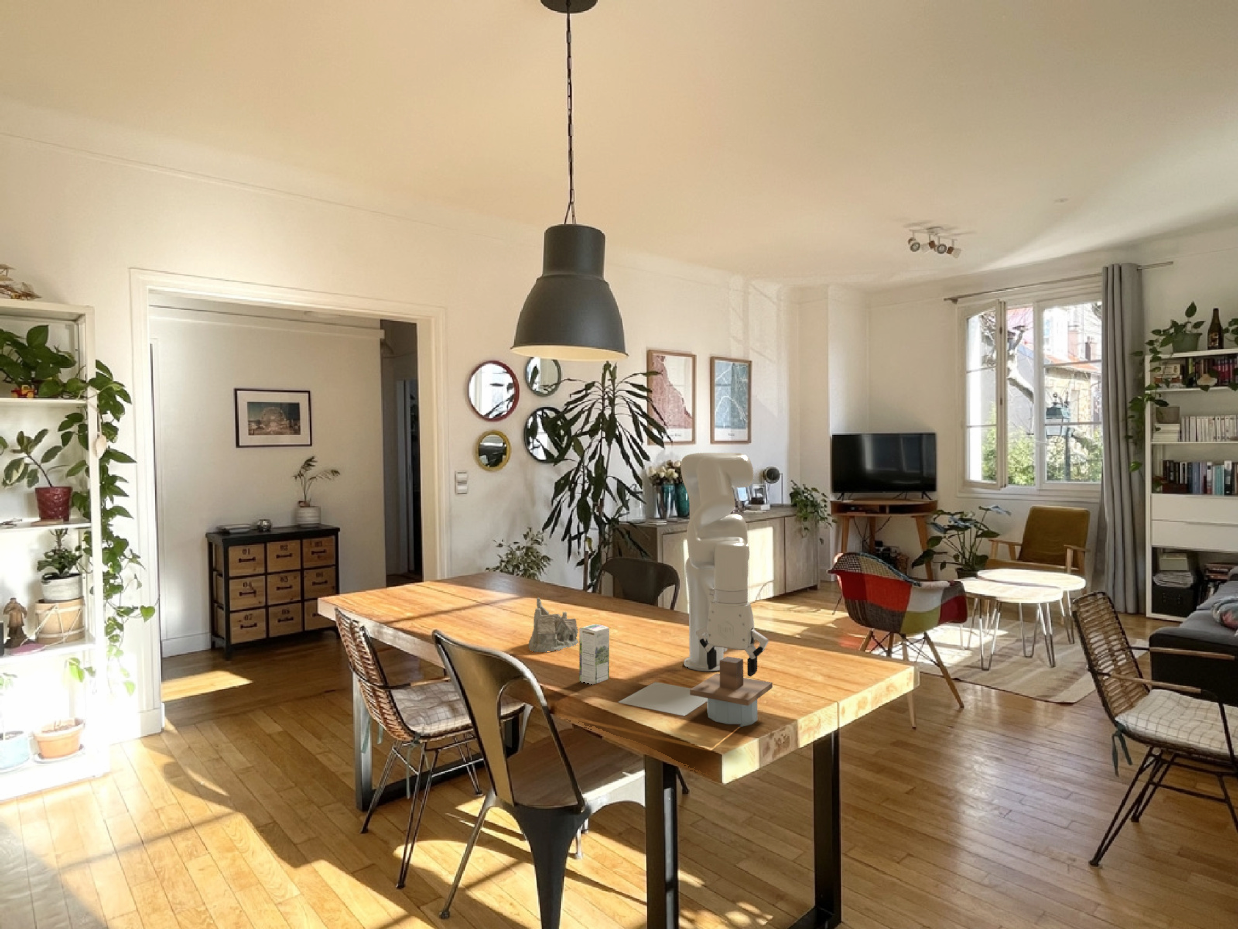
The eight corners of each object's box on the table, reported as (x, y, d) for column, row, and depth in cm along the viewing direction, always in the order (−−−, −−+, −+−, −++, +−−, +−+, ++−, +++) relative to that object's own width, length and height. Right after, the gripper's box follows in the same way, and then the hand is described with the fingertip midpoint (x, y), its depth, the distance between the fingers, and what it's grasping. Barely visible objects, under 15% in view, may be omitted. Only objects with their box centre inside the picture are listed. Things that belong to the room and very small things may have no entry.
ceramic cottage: (525, 652, 227) (527, 602, 227) (531, 640, 243) (533, 594, 244) (576, 655, 227) (579, 605, 227) (579, 643, 243) (581, 596, 244)
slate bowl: (720, 706, 178) (720, 681, 178) (764, 714, 172) (764, 688, 172) (699, 720, 169) (699, 694, 169) (745, 730, 163) (744, 702, 163)
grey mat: (655, 684, 195) (655, 682, 195) (718, 696, 186) (718, 693, 186) (617, 704, 180) (617, 702, 180) (684, 718, 170) (684, 715, 170)
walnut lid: (716, 678, 180) (716, 648, 180) (772, 687, 173) (772, 656, 172) (689, 694, 168) (689, 663, 168) (748, 705, 161) (748, 672, 161)
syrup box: (593, 676, 202) (592, 623, 202) (610, 680, 199) (609, 626, 198) (579, 682, 198) (578, 627, 198) (595, 686, 194) (595, 630, 194)
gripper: (689, 595, 172) (690, 670, 172) (760, 603, 162) (761, 682, 163) (703, 590, 178) (704, 662, 178) (773, 597, 168) (774, 673, 169)
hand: (731, 671), depth 170 cm, fingers open, 9 cm apart
